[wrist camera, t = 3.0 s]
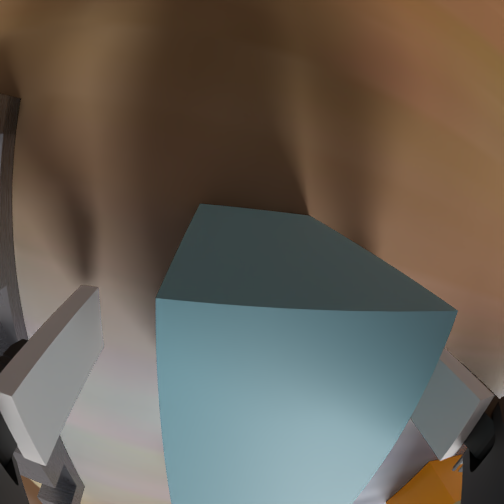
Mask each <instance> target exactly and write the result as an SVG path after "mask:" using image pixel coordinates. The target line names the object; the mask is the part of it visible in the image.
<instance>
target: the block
mask: <svg viewBox="0 0 504 504" xmlns="http://www.w3.org/2000/svg"><path fill="white" fill-rule="evenodd" d="M457 312H458V311H457V310H456V309H455V308H453V307H452V306H450V305H449V304H447V303H446V302H445V301H443V300H442V299H440V298H439V297H437V296H436V295H435V294H433V293H432V292H430V291H429V290H427V289H426V288H424V287H423V286H421V285H420V284H418V283H417V282H415V281H414V280H412V279H411V278H409V277H408V276H406V275H405V274H403V273H402V272H400V271H399V270H397V269H396V268H394V267H392V266H391V265H389V264H388V263H386V262H385V261H383V260H382V259H380V258H378V257H377V256H375V255H374V254H372V253H371V252H369V251H367V250H366V249H364V248H363V247H361V246H359V245H358V244H356V243H354V242H353V241H351V240H350V239H348V238H346V237H345V236H343V235H341V234H340V233H338V232H336V231H335V230H333V229H331V228H330V227H328V226H326V225H325V224H323V223H321V222H320V221H318V220H316V219H315V218H313V217H311V216H309V215H301V214H293V213H284V212H276V211H267V210H258V209H249V208H240V207H230V206H220V205H210V204H200V205H199V207H198V209H197V211H196V213H195V215H194V217H193V219H192V221H191V223H190V225H189V227H188V229H187V231H186V233H185V235H184V237H183V239H182V241H181V243H180V246H179V248H178V250H177V252H176V254H175V256H174V258H173V261H172V263H171V265H170V267H169V269H168V271H167V274H166V276H165V278H164V280H163V283H162V285H161V287H160V289H159V292H158V294H157V296H156V354H157V376H158V393H159V407H160V419H161V429H162V439H163V448H164V457H165V464H166V472H167V479H168V486H169V492H170V498H171V504H352V503H353V502H354V501H355V500H356V498H357V497H358V496H359V494H360V493H361V492H362V491H363V489H364V488H365V487H366V485H367V484H368V483H369V481H370V480H371V478H372V477H373V476H374V474H375V473H376V471H377V470H378V469H379V467H380V466H381V464H382V463H383V461H384V460H385V458H386V457H387V455H388V454H389V452H390V451H391V449H392V447H393V446H394V444H395V443H396V441H397V439H398V438H399V436H400V434H401V433H402V431H403V429H404V428H405V426H406V424H407V422H408V421H409V419H410V417H411V415H412V414H413V412H414V410H415V408H416V406H417V404H418V402H419V400H420V399H421V397H422V395H423V393H424V391H425V389H426V387H427V385H428V382H429V380H430V378H431V376H432V374H433V372H434V370H435V367H436V365H437V363H438V361H439V358H440V356H441V354H442V351H443V349H444V346H445V344H446V341H447V339H448V336H449V334H450V331H451V329H452V326H453V323H454V320H455V318H456V315H457Z"/></svg>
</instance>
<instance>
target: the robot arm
mask: <svg viewBox="0 0 504 504" xmlns="http://www.w3.org/2000/svg"><path fill="white" fill-rule="evenodd" d="M103 348H104V341H103V332H102V323H101V312H100V299H99V287H94V286H87V285H81V286H80V287H79V288H78V289H77V290H76V291H75V292H74V293H73V294H72V295H71V296H70V297H69V298H68V299H67V300H66V301H65V302H64V303H63V304H62V305H61V306H60V307H59V308H58V309H57V310H56V311H55V312H54V313H53V314H52V316H51V317H50V318H49V319H48V320H47V321H46V322H45V323H44V324H43V325H42V326H41V327H40V328H39V329H38V330H37V332H36V333H35V334H34V335H33V336H32V337H31V338H30V339H29V340H25V339H21V340H19V341H18V342H16V343H14V344H12V345H11V346H10V347H9V348H8V349H7V350H6V351H5V352H4V353H3V356H0V504H29V501H28V498H27V496H26V493H25V489H24V486H23V483H22V479H21V476H20V472H19V468H18V464H17V461H16V459H15V457H14V455H13V453H14V451H15V449H16V447H17V446H18V448H19V450H20V451H21V453H22V455H23V457H24V458H26V459H28V460H31V461H33V462H36V463H39V464H41V465H44V466H46V465H47V463H48V460H49V458H50V456H51V453H52V451H53V449H54V446H55V444H56V442H57V440H58V437H59V435H60V433H61V431H62V429H63V426H64V424H65V422H66V420H67V418H68V416H69V414H70V412H71V410H72V407H73V405H74V403H75V401H76V399H77V397H78V395H79V393H80V391H81V389H82V387H83V385H84V383H85V381H86V380H87V378H88V376H89V374H90V372H91V370H92V368H93V366H94V364H95V362H96V361H97V359H98V357H99V355H100V353H101V351H102V349H103ZM410 418H411V420H412V421H413V423H414V424H415V425H416V427H417V428H418V430H419V431H420V433H421V434H422V435H423V437H424V438H425V440H426V441H427V443H428V444H429V446H430V447H431V449H432V450H433V451H434V453H435V454H436V456H437V457H438V459H439V460H440V461H441V460H444V459H446V458H449V457H451V456H454V455H455V454H456V453H457V452H458V450H459V449H460V448H461V446H462V445H463V443H464V444H465V445H466V446H467V450H466V451H465V452H464V454H463V455H462V456H461V457H460V459H459V460H458V461H457V462H456V464H455V465H454V466H453V469H452V471H455V470H456V469H457V468H458V466H459V465H460V464H463V465H462V467H461V468H460V469H459V470H458V472H462V492H461V504H504V397H501V399H499V398H498V397H497V396H496V395H495V394H494V393H493V392H492V391H491V390H490V389H489V388H488V387H487V386H486V385H485V384H484V383H483V382H482V381H481V380H479V379H477V377H476V376H475V375H474V374H473V373H471V371H470V370H469V369H468V368H467V367H466V366H465V365H464V364H462V363H460V362H459V361H458V360H457V359H456V358H455V357H454V356H453V355H452V354H450V353H449V352H448V351H447V350H446V349H445V348H444V349H443V351H442V354H441V356H440V358H439V361H438V363H437V365H436V367H435V370H434V372H433V374H432V376H431V378H430V380H429V382H428V385H427V387H426V389H425V391H424V393H423V395H422V397H421V399H420V400H419V402H418V404H417V406H416V408H415V410H414V412H413V414H412V415H411V417H410Z"/></svg>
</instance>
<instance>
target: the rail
mask: <svg viewBox="0 0 504 504" xmlns="http://www.w3.org/2000/svg"><path fill="white" fill-rule="evenodd" d="M20 100H21V98H17V97H13V96H9V95H5V94H1V93H0V356H3V353H4V352H5V351H6V350H7V349H8V348H9V347H10V346H11V345H12V344H14V343H16V342H18V341H19V340H21V339H25V340H28V338H27V333H26V329H25V324H24V319H23V314H22V309H21V303H20V297H19V291H18V284H17V276H16V268H15V258H14V247H13V231H12V170H13V155H14V144H15V134H16V126H17V119H18V112H19V106H20ZM13 455H14V457H15V459H16V461H17V464H18V468H19V472H20V475H23V476H25V477H27V478H29V479H32V480H34V481H37V482H39V483H42V486H41V488H40V491H39V494H38V496H37V497H38V499H39V500H40V501H41V502H42V503H43V504H80V502H81V498H82V495H83V491H84V488H85V487H84V485H83V483H82V481H81V479H80V477H79V475H78V474H77V472H76V470H75V468H74V466H73V464H72V462H71V460H70V458H69V456H68V453H67V451H66V449H65V447H64V445H63V442H62V440H61V438H60V436H59V437H58V440H57V442H56V444H55V446H54V449H53V451H52V453H51V456H50V458H49V460H48V463H47V465H46V466H44V465H41V464H39V463H36V462H33V461H31V460H28V459H26V458H24V457H23V455H22V453H21V451H20V450H19V448H18V446H17V447H16V449H15V451H14V453H13Z"/></svg>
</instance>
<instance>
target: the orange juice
mask: <svg viewBox="0 0 504 504" xmlns="http://www.w3.org/2000/svg"><path fill="white" fill-rule="evenodd" d="M462 455H463V454H462ZM462 455H458V456H454V457H449V458H446V459H444V460H441V461H440V460H435V461H429V462H428V463H427V464H426V465H425V466H424V467H423V468H422V469H421V470H420V471H419V472H418V473H417V474H416V475H415V476H414V477H413V478H412V479H411V480H410V481H409V482H408V483H407V484H406V485H405V486H404V487H403V488H402V489H400V490H399V491H398V492H397V493H396V494H395V495H394V496H393V497H391V498H390V499H389V500H388V501H387V502H386V503H387V504H461V492H462V472H458V470H459V469H460V468H461V467H462V465H463V464H460V465H459V466H458V468H457V469H456V470H455V471H452V469H453V466H454V465H455V464H456V462H457V461H458V460H459V459H460V457H461V456H462Z"/></svg>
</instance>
